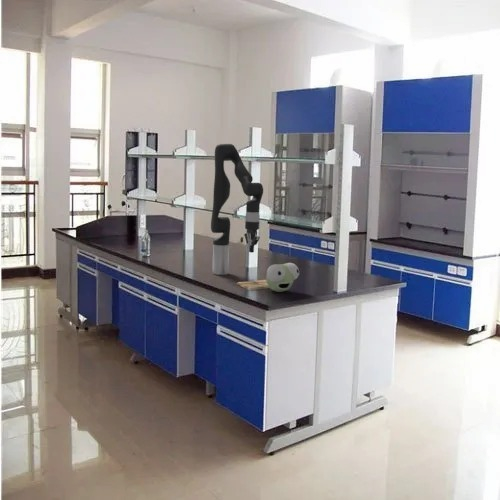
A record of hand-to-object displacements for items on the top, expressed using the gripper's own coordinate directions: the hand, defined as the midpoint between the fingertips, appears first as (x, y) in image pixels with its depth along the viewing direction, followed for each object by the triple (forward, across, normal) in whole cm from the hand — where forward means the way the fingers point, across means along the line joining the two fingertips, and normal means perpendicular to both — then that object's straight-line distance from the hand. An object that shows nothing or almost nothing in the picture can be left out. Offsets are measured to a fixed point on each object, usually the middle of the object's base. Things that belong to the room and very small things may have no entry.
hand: (251, 252), depth 321 cm
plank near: (+17, +4, -4) cm, 18 cm away
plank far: (+17, +4, +5) cm, 18 cm away
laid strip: (+17, +12, +1) cm, 21 cm away
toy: (+17, +22, +4) cm, 29 cm away
